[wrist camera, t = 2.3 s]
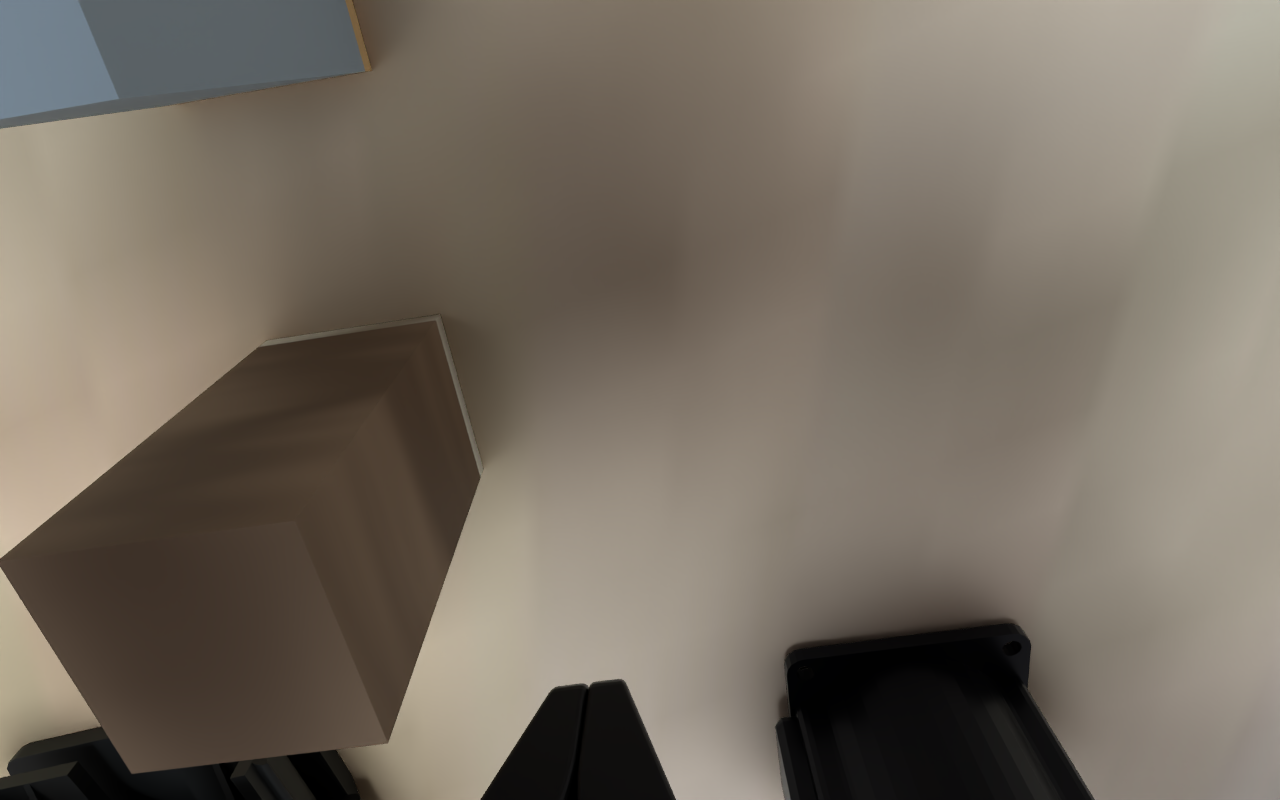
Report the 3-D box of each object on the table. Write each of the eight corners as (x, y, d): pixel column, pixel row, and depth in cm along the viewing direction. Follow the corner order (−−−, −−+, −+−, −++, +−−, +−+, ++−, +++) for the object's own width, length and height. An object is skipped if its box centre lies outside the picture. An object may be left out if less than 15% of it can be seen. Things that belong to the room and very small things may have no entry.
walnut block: (440, 314, 17) (295, 520, 10) (483, 469, 19) (387, 743, 11) (266, 340, 17) (-3, 561, 10) (324, 490, 19) (131, 774, 12)
